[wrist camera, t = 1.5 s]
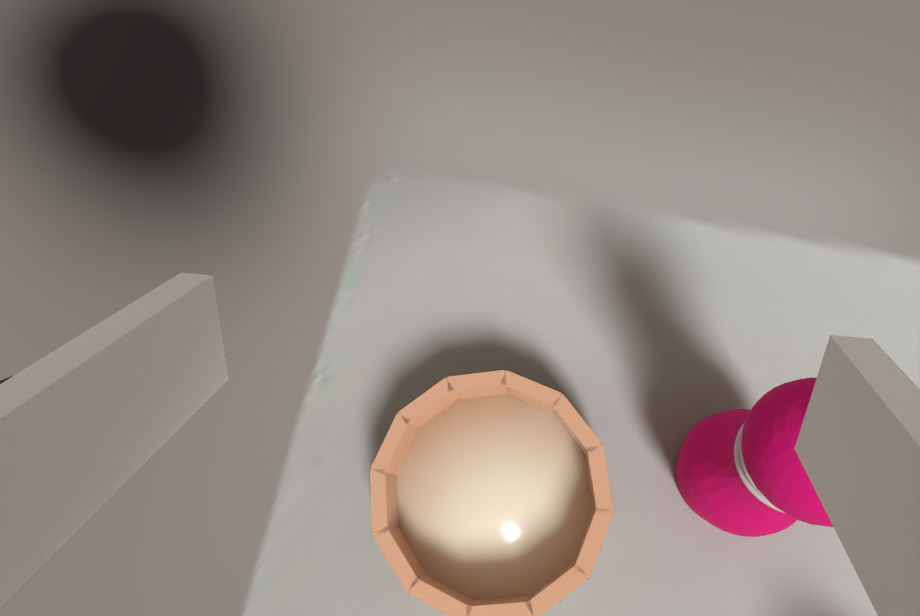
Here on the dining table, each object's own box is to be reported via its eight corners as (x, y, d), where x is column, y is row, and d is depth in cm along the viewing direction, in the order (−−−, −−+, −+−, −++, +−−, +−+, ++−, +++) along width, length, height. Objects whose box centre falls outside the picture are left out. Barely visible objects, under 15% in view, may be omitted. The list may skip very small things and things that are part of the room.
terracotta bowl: (653, 520, 40) (663, 520, 36) (467, 664, 39) (458, 679, 35) (515, 344, 45) (511, 328, 41) (348, 467, 44) (329, 462, 40)
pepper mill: (807, 475, 39) (1030, 433, 21) (736, 560, 38) (903, 597, 20) (713, 399, 42) (837, 300, 23) (644, 477, 41) (715, 440, 22)
